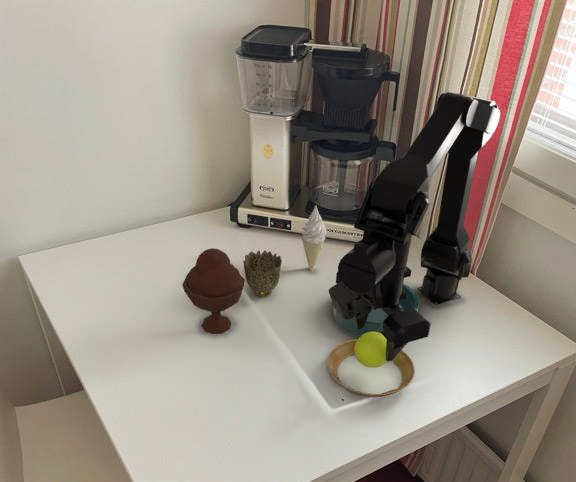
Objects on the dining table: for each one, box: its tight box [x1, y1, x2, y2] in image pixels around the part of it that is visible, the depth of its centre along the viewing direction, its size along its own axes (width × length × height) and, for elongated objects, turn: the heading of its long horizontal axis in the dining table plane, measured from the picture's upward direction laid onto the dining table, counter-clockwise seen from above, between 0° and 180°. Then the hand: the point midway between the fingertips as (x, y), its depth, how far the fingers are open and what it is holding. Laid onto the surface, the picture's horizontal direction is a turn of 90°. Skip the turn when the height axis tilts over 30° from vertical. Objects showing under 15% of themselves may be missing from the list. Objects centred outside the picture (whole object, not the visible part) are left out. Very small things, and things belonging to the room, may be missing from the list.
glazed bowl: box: [332, 282, 420, 337], centre depth 117 cm, size 16×16×4 cm
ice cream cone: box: [300, 205, 327, 271], centre depth 125 cm, size 5×5×15 cm
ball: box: [354, 332, 387, 369], centre depth 102 cm, size 6×6×6 cm
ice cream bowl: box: [181, 247, 246, 335], centre depth 110 cm, size 11×11×15 cm
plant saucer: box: [326, 338, 416, 398], centre depth 104 cm, size 15×15×3 cm
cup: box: [242, 250, 283, 298], centre depth 120 cm, size 8×7×8 cm
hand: (373, 343), depth 100 cm, fingers open, 9 cm apart
